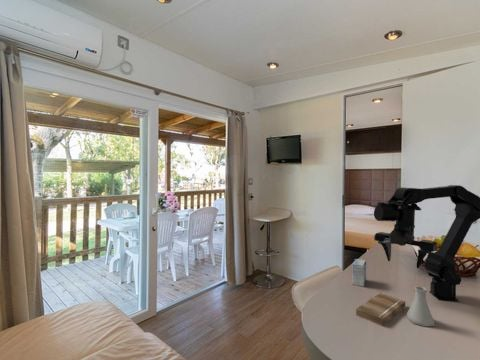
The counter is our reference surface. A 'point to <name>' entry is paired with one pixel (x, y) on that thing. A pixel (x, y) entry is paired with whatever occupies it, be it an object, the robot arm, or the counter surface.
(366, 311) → the walnut board
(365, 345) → the counter surface
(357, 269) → the medicine box
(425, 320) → the flask
